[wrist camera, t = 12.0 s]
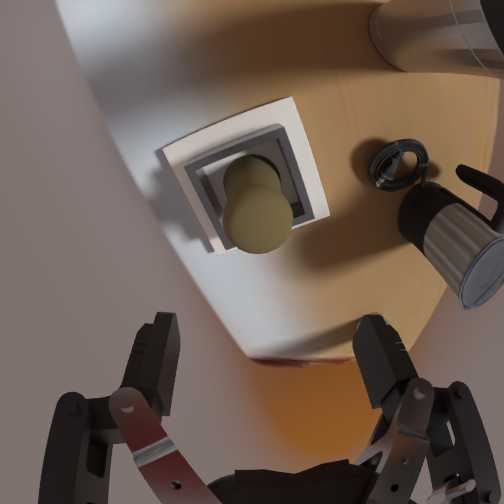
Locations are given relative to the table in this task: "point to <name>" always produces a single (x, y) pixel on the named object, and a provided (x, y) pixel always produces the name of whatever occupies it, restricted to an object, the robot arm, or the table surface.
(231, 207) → the cork
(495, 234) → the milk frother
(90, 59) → the table surface
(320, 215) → the socket base
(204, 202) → the socket collar
